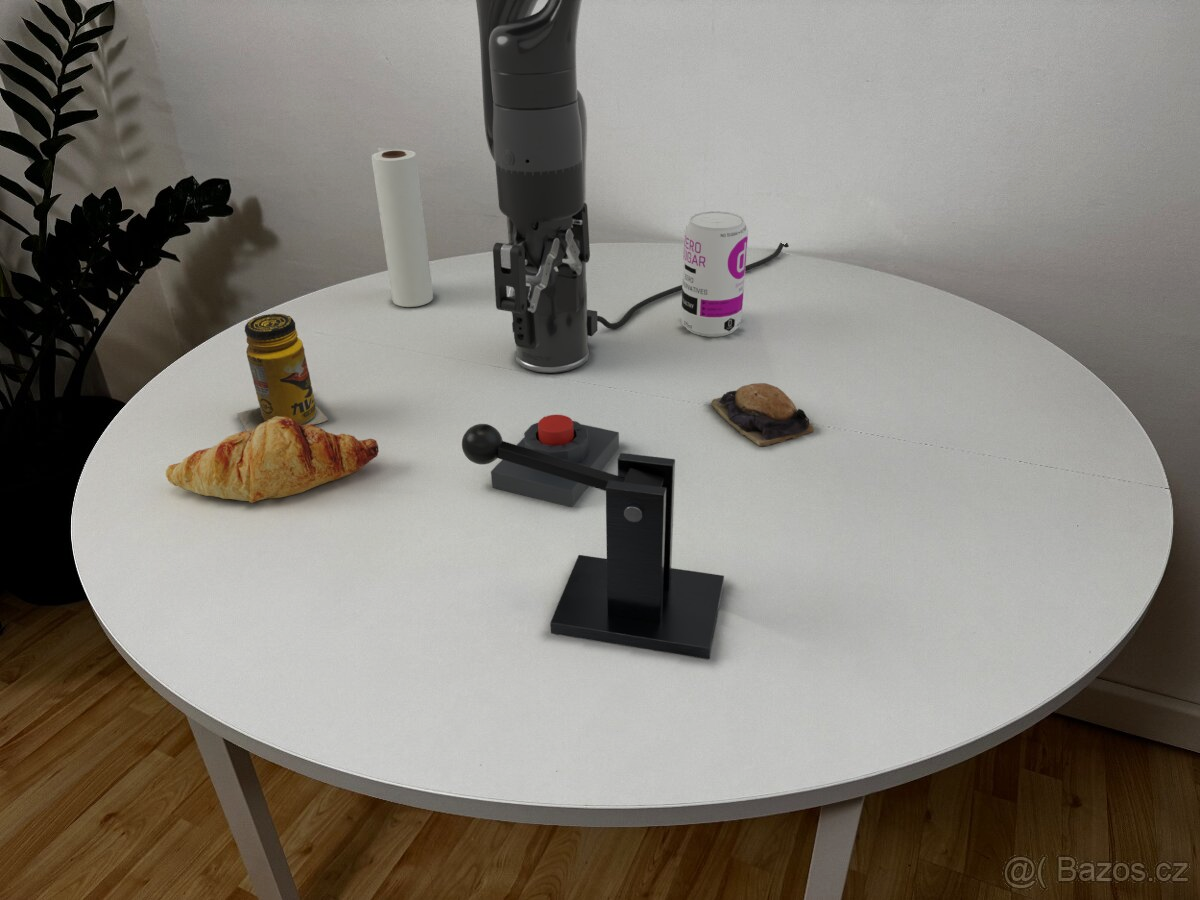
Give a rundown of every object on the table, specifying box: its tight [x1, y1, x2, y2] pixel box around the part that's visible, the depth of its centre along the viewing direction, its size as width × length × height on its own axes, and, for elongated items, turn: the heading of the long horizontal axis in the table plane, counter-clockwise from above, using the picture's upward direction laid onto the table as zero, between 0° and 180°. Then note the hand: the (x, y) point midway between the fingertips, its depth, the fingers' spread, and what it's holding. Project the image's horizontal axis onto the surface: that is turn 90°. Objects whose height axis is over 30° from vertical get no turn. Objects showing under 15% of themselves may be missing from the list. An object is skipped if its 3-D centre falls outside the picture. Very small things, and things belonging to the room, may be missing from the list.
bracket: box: [549, 452, 725, 660], centre depth 72 cm, size 13×9×14 cm
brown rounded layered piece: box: [710, 382, 815, 447], centre depth 101 cm, size 11×8×4 cm
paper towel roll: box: [371, 147, 434, 308], centre depth 128 cm, size 7×6×21 cm
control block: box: [490, 416, 620, 508], centre depth 93 cm, size 12×9×4 cm
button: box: [537, 414, 574, 446], centre depth 92 cm, size 4×4×2 cm
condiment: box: [236, 313, 329, 431], centre depth 100 cm, size 7×8×12 cm
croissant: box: [165, 416, 380, 504], centre depth 91 cm, size 21×10×8 cm, turn 101°
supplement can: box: [680, 210, 749, 338], centre depth 119 cm, size 8×8×15 cm
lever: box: [461, 423, 664, 492], centre depth 70 cm, size 16×3×3 cm, turn 76°
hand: (548, 328), depth 86 cm, fingers open, 8 cm apart
